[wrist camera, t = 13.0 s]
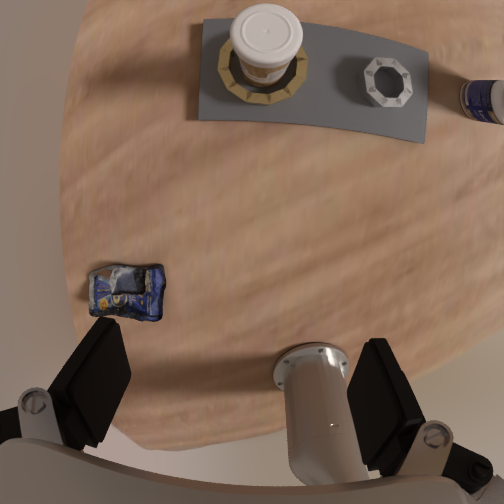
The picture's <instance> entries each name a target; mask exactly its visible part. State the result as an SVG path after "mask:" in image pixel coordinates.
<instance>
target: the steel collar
mask: <svg viewBox="0 0 504 504" xmlns="http://www.w3.org/2000/svg"><path fill="white" fill-rule="evenodd" d="M377 70H384V71H385V72H386V73H387V74H388V75H390V76H391V77H392V78H393V83H394V90H395V91H394V92H393V93H392V95H391V96H390V97H389V98H385V97H384V96H383V95H382V94H381V93H380V92H379V91H378V90H377V89H376V88H375V83H374V76H373V75H374V73H375V72H376V71H377ZM356 76H357V83H358V89H359V94H360V95H361V96H362V97H363V98H365V99H366V100H367V101H368V102H369V103H370V104H371V105H372V106H373V107H374V108H375V107H384V108H397V107H402V106H403V105H404V104H405V103H406V101H407V100H408V99H409V98H410V96H411V95H412V94H413V92H412V85H411V78H410V73H409V72H408V71H407V70H406V69H405V68H404V67H403V66H402V65H401V64H400V63H399V62H398V61H397V60H396V59H394V58H381V57H375V58H373V59H371V60H369V61H367V62H366V63H365V64H364V66H363V67H362V68H361V69H360V70H359V71H358V73H357V74H356Z"/></svg>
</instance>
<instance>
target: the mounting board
mask: <svg viewBox="0 0 504 504" xmlns="http://www.w3.org/2000/svg"><path fill="white" fill-rule="evenodd" d="M234 19H235V18H229V19H204V21H203V34H202V48H201V65H200V85H199V113H198V120H241V121H265V122H281V123H294V124H305V125H314V126H323V127H331V128H339V129H346V130H353V131H359V132H365V133H371V134H377V135H382V136H388V137H393V138H398V139H402V140H407V141H412V142H416V143H420V144H424V142H425V132H426V121H427V106H428V77H429V61H428V52H426V51H423V50H420V49H417V48H414V47H411V46H408V45H405V44H402V43H399V42H396V41H392V40H389V39H385V38H381V37H378V36H374V35H370V34H366V33H361V32H357V31H352V30H347V29H342V28H337V27H331V26H325V25H319V24H312V23H304V22H300V24H301V27H302V30H303V39H302V43H301V45H302V47H303V49H304V51H305V53H306V55H307V58H308V64H307V73H306V80H305V81H304V82H303V83H302V85H301V86H300V87H299V88H298V89H297V90H296V92H295V93H294V94H293V95H292V96H291V97H290V98H289V99H286V100H283V101H281V102H278V103H275V104H273V105H270V106H265V105H257V104H247V103H246V102H244V101H243V100H241V99H240V98H238V97H237V96H235V95H234V94H232V93H231V92H229V91H228V90H227V88H226V86H225V84H224V82H223V80H222V78H221V76H220V74H219V72H218V62H219V55H220V49H221V48H222V46H223V45H224V44H225V43H226V42H227V40H228V39H229V38H230V28H231V24H232V22H233V20H234ZM375 57H381V58H394V59H396V60H397V61H398V62H399V63H400V64H401V65H402V66H403V67H404V68H405V69H406V70H407V71H408V72H409V73H410V78H411V85H412V92H413V94H412V95H411V96H410V98H409V99H408V100H407V101H406V103H405V104H404V105H403V106H402V107H397V108H384V107H375V108H374V107H373V106H372V105H371V104H370V103H369V102H368V101H367V100H366V99H365V98H363V97H362V96H361V95H360V94H359V89H358V83H357V76H356V74H357V73H358V71H359V70H360V69H361V68H362V67H363V66H364V64H365V63H366V62H367V61H369V60H371V59H373V58H375ZM294 65H295V64H294V62H293V60H292V59H291V61H290V63H289V65H288V67H287V69H286V71H285V73H284V76H283V78H282V79H281V80H280V81H279V82H278V83H277V84H275V85H273V86H270V87H257V86H254V85H252V84H251V83H249V82H248V81H247V80H246V79H245V78H244V76H243V74H242V69H241V64H240V60H239V57H238V55H237V54H236V53H235V55H234V56H233V57H232V64H231V74H232V76H233V78H234V80H235V82H236V83H237V84H238V85H240V86H241V87H243V88H244V89H246V90H247V91H249V92H251V93H261V94H271V93H273V92H276V91H279V90H281V89H284V88H286V86H287V85H288V84H289V83H290V82H291V80H292V79H293V73H294ZM373 76H374V83H375V88H376V89H377V90H378V91H379V92H380V93H381V94H382V95H383V96H384V97H385V98H389V97H390V96H391V95H392V93H393V92H394V91H395V90H394V83H393V78H392V77H391V76H390V75H388V74H387V73H386V72H385V71H384V70H377V71H376V72H375V73H374V75H373Z"/></svg>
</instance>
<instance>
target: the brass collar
mask: <svg viewBox="0 0 504 504" xmlns="http://www.w3.org/2000/svg"><path fill="white" fill-rule="evenodd" d="M235 53H236V52H235V51H234V48H233V46H232V43H231V39H230V38H229V39H228V40H227V42H226V43H225V44H224V45H223V46H222V48H221V49H220V55H219V62H218V72H219V74H220V76H221V78H222V80H223V82H224V84H225V86H226V88H227V90H228V91H229V92H231V93H232V94H234V95H235V96H237V97H238V98H240V99H241V100H243V101H244V102H246V103H247V104H257V105H265V106H270V105H273V104H275V103H278V102H281V101H283V100H286V99H289V98H290V97H291V96H292V95H293V94H294V93H295V92H296V90H297V89H298V88H299V87H300V86H301V85H302V83H303V82H304V81H305V80H306V73H307V64H308V58H307V55H306V53H305V51H304V49H303V47H302V45H301V46H300V48H299V50H298V52H297V54H296V55H295V56H294V57H293V59H292V60H293V62H294V64H295V65H294V73H293V79H292V80H291V82H290V83H289V84H288V85H287V86H286V88H284V89H281V90H279V91H276V92H273V93H271V94H261V93H251V92H249V91H247V90H246V89H244V88H243V87H241V86H240V85H238V84H237V83H236V82H235V80H234V78H233V76H232V74H231V64H232V57H233V56H234V55H235Z"/></svg>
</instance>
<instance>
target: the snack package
mask: <svg viewBox="0 0 504 504" xmlns="http://www.w3.org/2000/svg"><path fill="white" fill-rule="evenodd" d="M102 269H106V270H109V271H110V270H111V271H112V273H111V275H110V281H109V280H108V279H107V278H104V277H103V276H101V275H99V274H97V276H95V277H94V273H98V272H99V271H100V270H102ZM163 276H164V277H165V273H164V267H163V265H161V264H156V265H153V266H150V267H148V268H143V267H141V268H135V267H129V266H122V265H114V266H113V265H112V266H109V267H106V268H105V267H104V268H101V269H99V270H95V271H93V272H91V273H90V275H89V279H90V286H89V288H90V289H89V300H90V301H89V302H90V303H89V314H90V315H91V316H95V317H101V316H107V315H116V316H119V317H126V318H128V317H129V318H131V319H132V318H133V319H136V320H138V321H152V322H156V321H159V320H161V319H162V316H163V307H162V306H163V296H164V290H165V288H166V278H165V280H164V279H163V278H164V277H163ZM145 280H146V283H145ZM163 280H164V281H165V283H164V285H163V286H162V291H160V290H161V288H160V287H161V285H162V283H163Z"/></svg>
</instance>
